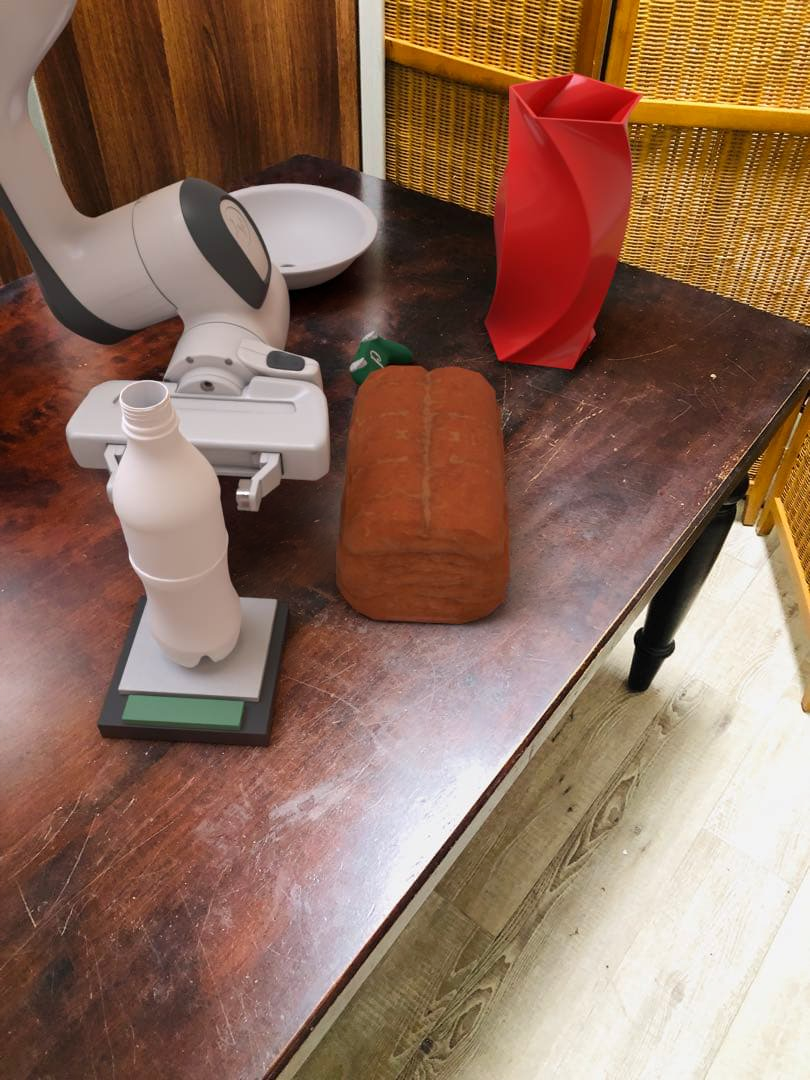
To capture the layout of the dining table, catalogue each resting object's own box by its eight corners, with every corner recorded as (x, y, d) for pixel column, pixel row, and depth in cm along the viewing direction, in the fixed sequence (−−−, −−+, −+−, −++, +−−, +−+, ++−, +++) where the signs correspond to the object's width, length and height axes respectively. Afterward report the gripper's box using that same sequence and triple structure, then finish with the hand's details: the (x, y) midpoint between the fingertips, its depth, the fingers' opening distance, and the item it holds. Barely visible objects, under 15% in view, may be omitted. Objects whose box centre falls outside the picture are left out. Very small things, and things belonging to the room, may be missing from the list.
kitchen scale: (101, 737, 69) (94, 719, 67) (144, 607, 78) (138, 589, 76) (267, 746, 68) (265, 729, 67) (291, 616, 77) (289, 597, 76)
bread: (495, 432, 96) (506, 350, 88) (509, 627, 77) (524, 544, 69) (352, 427, 96) (351, 344, 88) (332, 621, 77) (328, 537, 69)
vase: (466, 354, 106) (488, 111, 85) (492, 294, 115) (518, 63, 95) (592, 378, 103) (645, 133, 83) (608, 314, 113) (659, 81, 92)
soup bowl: (158, 279, 115) (149, 232, 111) (278, 212, 129) (274, 167, 125) (300, 342, 106) (297, 293, 102) (412, 262, 120) (414, 216, 115)
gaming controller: (394, 369, 106) (359, 334, 104) (417, 353, 104) (381, 317, 101) (377, 416, 100) (339, 380, 97) (401, 400, 98) (363, 363, 95)
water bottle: (142, 632, 73) (65, 385, 54) (219, 594, 76) (171, 348, 57) (181, 692, 69) (112, 447, 51) (261, 649, 72) (224, 403, 54)
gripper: (87, 348, 71) (28, 461, 62) (338, 361, 71) (317, 476, 62) (104, 410, 76) (52, 524, 67) (340, 423, 76) (321, 538, 66)
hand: (182, 501), depth 64 cm, fingers open, 8 cm apart
